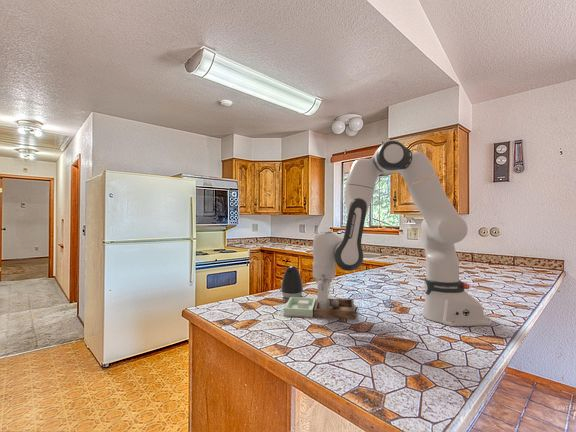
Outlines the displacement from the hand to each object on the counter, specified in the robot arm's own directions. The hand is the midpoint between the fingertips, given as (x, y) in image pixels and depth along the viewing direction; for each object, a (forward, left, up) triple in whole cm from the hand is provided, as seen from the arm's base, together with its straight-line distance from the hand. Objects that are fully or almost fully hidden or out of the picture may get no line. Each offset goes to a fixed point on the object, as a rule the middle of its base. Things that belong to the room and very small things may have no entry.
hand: (324, 307), depth 118 cm
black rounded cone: (+16, -19, -2) cm, 25 cm away
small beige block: (+8, +2, -1) cm, 8 cm away
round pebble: (-4, -6, -1) cm, 7 cm away
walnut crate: (-4, -1, -2) cm, 5 cm away
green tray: (+9, -1, -2) cm, 10 cm away
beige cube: (0, 0, -1) cm, 1 cm away
